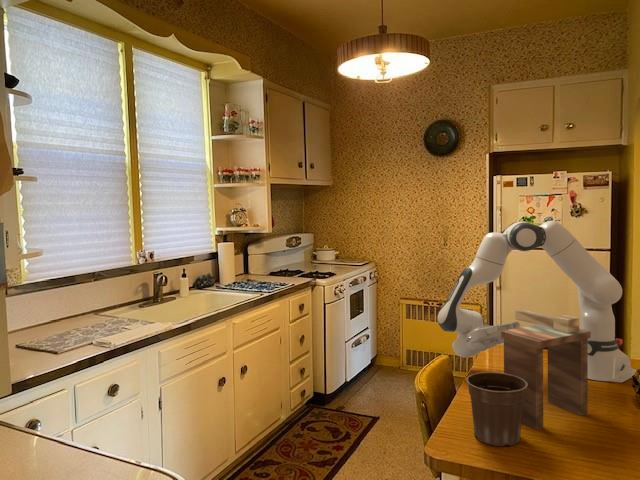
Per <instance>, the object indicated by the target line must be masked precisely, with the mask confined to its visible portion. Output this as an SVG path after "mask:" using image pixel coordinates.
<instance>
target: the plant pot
mask: <svg viewBox="0 0 640 480" xmlns="http://www.w3.org/2000/svg"><path fill="white" fill-rule="evenodd" d="M465 381H466V384H467V386H468V395H469V396H470V402H471V413H472V414H471V415H472V422H473V434H474V437H476V438H477V440H478V441H480V442H482V443H484V444H486V445H489V446H495V447H504V446H509V447H511V446H515V445H517V444H518V443H520V441H521V433H522V432H521V431H522V423H521V422H522V412H523V402H524V400H525V392H526V388H527V387H528V383H527V382H526V381H525V380H524V379H522V378H520V377H517V376H514V375H510V374H505V373H504V372H497V371H485V372H483V371H482V372H481V371H480V372H476V373H472V374H470V375H468V376H467V377H466V379H465Z"/></svg>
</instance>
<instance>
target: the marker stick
mask: <svg viewBox="0 0 640 480" xmlns="http://www.w3.org/2000/svg"><path fill="white" fill-rule="evenodd" d="M514 317H515V318H514V319H515V320H517V321H521V322H525V323H527V324H528V323H530V324H533V325H541V326H545V327H549V328H553V329H554V330H557V331H561V332H565V333H571V332H576V331H579V329H580V317H578V316H577V317H576V316H572V315H567V314H562V315H558V316H557V315H556V316H554V315H553V316H552V315H548V314H544V313H540V312H539V313H538V312H533V311H531V310H530V311H529V310H525V309H518V310H515V315H514Z"/></svg>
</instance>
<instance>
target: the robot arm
mask: <svg viewBox="0 0 640 480" xmlns="http://www.w3.org/2000/svg"><path fill="white" fill-rule="evenodd" d="M536 248H542V250H544V252H545V253H546V254H547V255H548V256H549V257H550V258H551V259H552V260H553V261H554V263H555V264H556V265H557V267H559V269H560V270H562V272H563V273H564V274H565V275H566V276H567V277H568V278H569V279H570V280H572V282H573V283H574V284H575V285H576V290H577V297H578V306H579V312H580V329H582V330H586V331H591V338H588V379H589V380H592V381H593V380H594V381H598V382H599V381H600V382H613V383H624V382H625V381H628V380H630V379H631V378H633V377H632V376H633V375H634V374H635V372H636V371H637V369H634V368H632V366H631V359H630V357H629V356H628V355H627V354H626V353H624V352H623V351H621V349H620V348H619V346H618V345H622V344H623V341H624V340H623V339H622V338H617V337H616V318H615V315H614V312H613V308H612V307H613V306H612V305H613V304H615V303H617V302H618V301H620V300H621V298H622V296H623V288H622V285H621V284H620V282H619V281H618V280H617V279H616V278H615V277H614V276H613V275H612V274H611V272H610V271H608V270H607V269H606V268H605V266H604V265H602V264H601V263H600V261H598V260H597V259H596V258H595V257H594V256H592V255H591V254H590V252H588V250H587V249H586V248H585V247H584V246H583V245H582V244H581V242H580V241H578V239H577V238H576V237H575V236H574V235H573V234H572V233H571V232H570V231H569V229H568V228H566V227H565V226H563V225H562V224H561V223H559V222H558V221H556V220H547V221H545V222H543V223H542V224H540V225H536V224H534V223H531V222H528V221H522V220H521V221H515V222H512V223H511V224H509V225H508V226H507V227H506V228H505V229H504V230H502V231H501V232H494V231H493V232H489V233H487V234H486V235H484V237H483V239H482V241H481V243H480V244H479V247H478V249H477V252H476V254H475V257H474V259H473V261H472V263H471V264H469V266H468V267H466V268H464V269H463V270H462V271H461V272H460V274H459V276H458V278H457V279H456V281H455V283H454V285H453V287H452V289H451V291H450V293H449V295H448V297H447V298H446V300H445V303H444V304H443V305H442V306H441V308H440V309H439V311H438V313H437V316H436V321H437V324H438V325H439V327H440V329H441V330H442V331H444V332H448V333H449V332H450V333H458V335H457V337H456V338H455V340H453V343H452V350H453V352H454V353H455V354H456V355H457V356H459V357H461V358H466V359H467V358H470V357H474V356H476V355H478V354H480V353H481V352H482V353H483V352H486V351H488V350H490V349H492V348H494V347H496V346H497V345H500V344H504V338H501V331H506V330H510V329H515V328H521V323H520V322H519V321H514V322H509V323H504V324H496V325H489V324H488V325H486V322H485V319H484V317H483V315H482V313H480V312H479V311H475V310H470V309H465V308H460V306H461V305H462V302H463V300H464V298H465V296H466V295H467V292H468V291H469V290H470V289H471V288H474V287H475V286H478V285H479V286H480V285H484V284H489V283H493V282H495V281H496V280H498V279H499V278H500V276H501V274H502V272H503V269H504V266H505V263H506V260H507V258H508V256H509V254H510V253H511V252H512V251H515V250H517V251H520V252H528V251H532V250H534V249H536ZM615 337H616V338H615Z"/></svg>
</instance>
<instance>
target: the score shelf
mask: <svg viewBox="0 0 640 480" xmlns="http://www.w3.org/2000/svg"><path fill="white" fill-rule="evenodd" d="M501 338H504V342H503V373H505V374H510V375H514V376H517V377H520V378H522V379H524V380H525V381H526V382H527V383H528V387H527V388H526V392H525V400H524V402H523V412H522V422H521V424H523V425H525V426H528V427H529V428H532V429H533V430H540V429H543V428H544V348H547V403H548V404H550V405H553V406H555V407H558V408H561V409H563V410H565V411H566V412H567V411H568V412H570V413H572V414H575V415H578V416H580V417H582V416H585V415H588V401H589V400H588V397H589V396H588V395H589V394H588V384H589V381H588V338H591V331H586V330H582V329H581V328H579V331H576V332H571V333H565V332H561V331H557V330H554V329H553V328H549V327H545V326H541V325H537V324H533V325H528V326H523V327H521V326H520V328H515V329H510V330H506V331H501Z"/></svg>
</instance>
